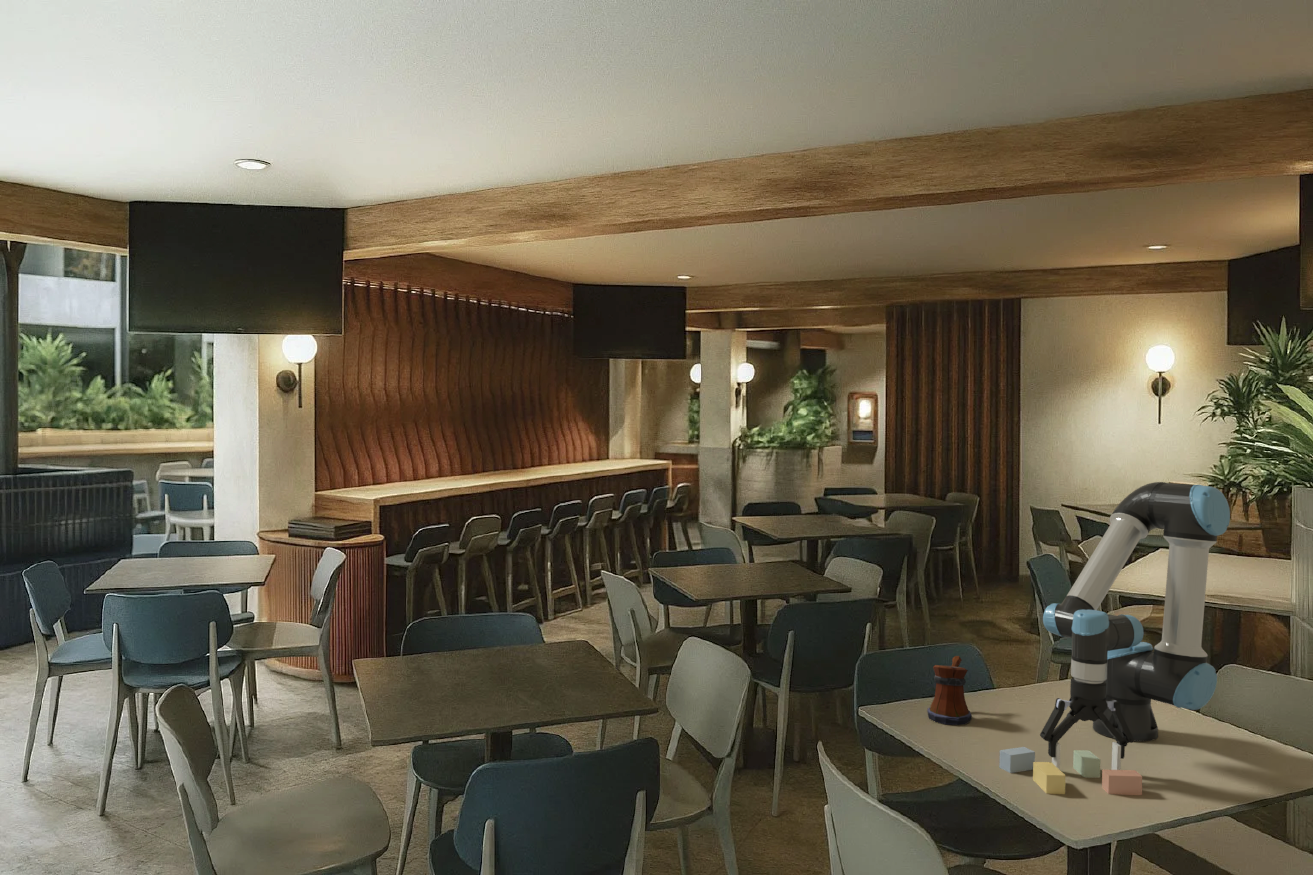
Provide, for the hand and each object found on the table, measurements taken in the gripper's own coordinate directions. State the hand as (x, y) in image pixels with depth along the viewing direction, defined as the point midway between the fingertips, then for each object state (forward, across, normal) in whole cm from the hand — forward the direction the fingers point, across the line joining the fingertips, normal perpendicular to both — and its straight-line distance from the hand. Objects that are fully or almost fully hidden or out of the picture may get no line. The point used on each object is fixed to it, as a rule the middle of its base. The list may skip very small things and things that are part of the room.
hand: (1085, 771), depth 228 cm
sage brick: (0, 0, 0) cm, 0 cm away
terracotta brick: (0, -3, +11) cm, 11 cm away
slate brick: (0, +15, -2) cm, 15 cm away
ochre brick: (0, +12, +9) cm, 15 cm away
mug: (0, +19, -41) cm, 45 cm away
